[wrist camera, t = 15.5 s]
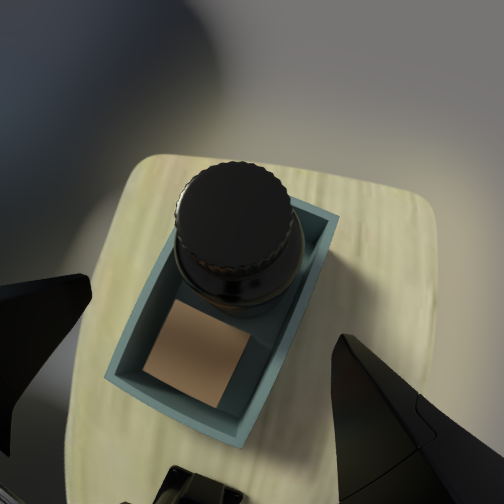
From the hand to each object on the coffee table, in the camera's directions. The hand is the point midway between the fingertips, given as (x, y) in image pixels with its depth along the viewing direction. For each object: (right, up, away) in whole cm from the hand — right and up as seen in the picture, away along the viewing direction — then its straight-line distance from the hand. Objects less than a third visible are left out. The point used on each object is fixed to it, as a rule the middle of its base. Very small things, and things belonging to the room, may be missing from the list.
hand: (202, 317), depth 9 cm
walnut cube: (-2, -5, +12) cm, 13 cm away
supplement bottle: (+1, 0, +14) cm, 14 cm away
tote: (0, -2, +13) cm, 14 cm away
